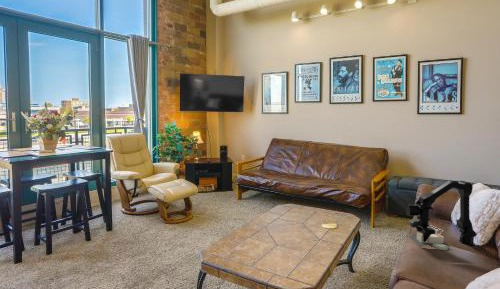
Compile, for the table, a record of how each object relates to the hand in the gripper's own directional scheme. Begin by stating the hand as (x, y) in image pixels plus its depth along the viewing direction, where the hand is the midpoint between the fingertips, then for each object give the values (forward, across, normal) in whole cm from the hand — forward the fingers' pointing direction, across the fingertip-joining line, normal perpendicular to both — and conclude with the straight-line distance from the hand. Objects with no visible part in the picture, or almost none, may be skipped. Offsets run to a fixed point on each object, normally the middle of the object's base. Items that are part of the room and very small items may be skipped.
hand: (421, 239), depth 204 cm
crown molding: (+2, -22, +16) cm, 27 cm away
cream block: (+1, 0, 0) cm, 1 cm away
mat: (+1, +2, +3) cm, 4 cm away
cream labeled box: (+1, 0, +7) cm, 7 cm away
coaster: (+1, +9, +7) cm, 11 cm away
